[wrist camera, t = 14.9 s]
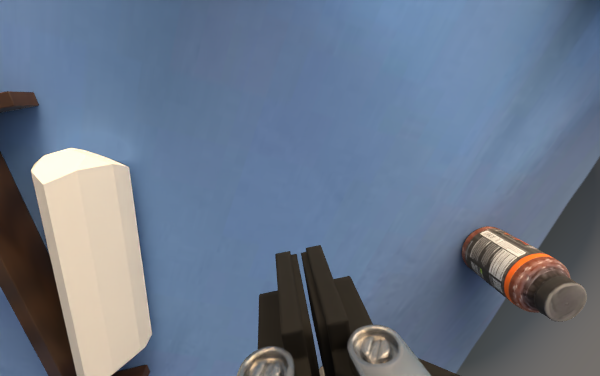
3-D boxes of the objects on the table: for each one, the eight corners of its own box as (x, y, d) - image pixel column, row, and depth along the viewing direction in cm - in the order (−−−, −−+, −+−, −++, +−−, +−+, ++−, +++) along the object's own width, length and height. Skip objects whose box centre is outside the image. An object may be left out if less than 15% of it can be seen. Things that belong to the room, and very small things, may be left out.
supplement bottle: (514, 242, 39) (611, 296, 28) (480, 276, 40) (561, 343, 29) (483, 215, 37) (574, 262, 26) (449, 251, 38) (523, 311, 27)
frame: (-36, 105, 28) (-98, 106, 23) (34, 92, 28) (-13, 90, 24) (98, 384, 38) (74, 425, 33) (150, 371, 38) (133, 410, 33)
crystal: (161, 371, 33) (132, 149, 27) (81, 408, 29) (24, 156, 23) (147, 331, 39) (120, 140, 33) (78, 357, 35) (31, 145, 29)
